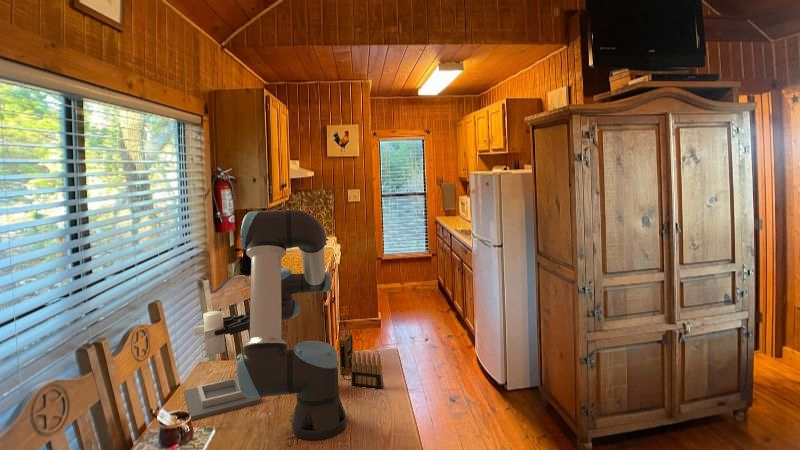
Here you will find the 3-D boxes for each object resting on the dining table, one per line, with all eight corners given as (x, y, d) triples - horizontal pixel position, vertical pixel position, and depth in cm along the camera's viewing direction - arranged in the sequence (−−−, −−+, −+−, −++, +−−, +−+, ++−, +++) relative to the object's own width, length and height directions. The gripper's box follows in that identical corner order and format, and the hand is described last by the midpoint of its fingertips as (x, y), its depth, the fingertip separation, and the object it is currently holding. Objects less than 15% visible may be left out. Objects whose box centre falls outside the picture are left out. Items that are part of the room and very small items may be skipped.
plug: (226, 352, 157) (224, 314, 156) (207, 355, 154) (204, 317, 153) (223, 346, 162) (220, 309, 161) (204, 350, 159) (202, 312, 158)
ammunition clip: (383, 387, 155) (382, 352, 154) (381, 390, 153) (380, 354, 152) (353, 383, 158) (352, 349, 157) (351, 386, 156) (350, 351, 155)
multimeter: (364, 381, 160) (362, 324, 158) (336, 379, 162) (334, 323, 160) (375, 364, 174) (373, 311, 172) (349, 363, 176) (347, 310, 174)
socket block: (260, 402, 147) (259, 392, 146) (190, 420, 137) (189, 410, 137) (246, 379, 164) (246, 370, 164) (184, 393, 154) (183, 384, 154)
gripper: (277, 331, 165) (214, 350, 148) (246, 322, 177) (186, 339, 160) (275, 310, 164) (213, 327, 147) (245, 302, 177) (184, 317, 159)
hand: (199, 333), depth 153 cm, fingers closed on plug, 6 cm apart
